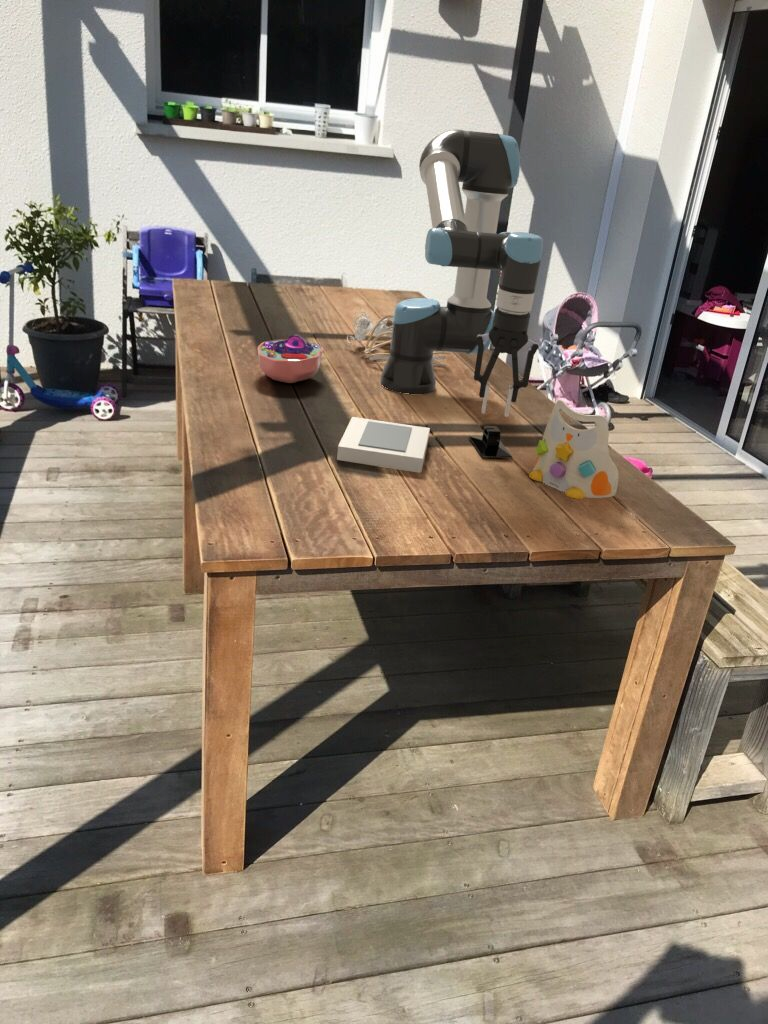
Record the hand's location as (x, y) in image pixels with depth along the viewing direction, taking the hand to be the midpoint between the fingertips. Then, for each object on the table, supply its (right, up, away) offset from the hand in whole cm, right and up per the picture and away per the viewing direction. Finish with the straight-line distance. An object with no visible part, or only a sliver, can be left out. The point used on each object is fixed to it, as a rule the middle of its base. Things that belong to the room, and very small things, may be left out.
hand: (494, 412), depth 187 cm
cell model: (-50, +13, +35) cm, 62 cm away
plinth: (-25, -9, -3) cm, 27 cm away
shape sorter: (+14, -17, -8) cm, 23 cm away
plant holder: (-22, +24, +67) cm, 74 cm away
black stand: (-1, -10, +5) cm, 11 cm away
